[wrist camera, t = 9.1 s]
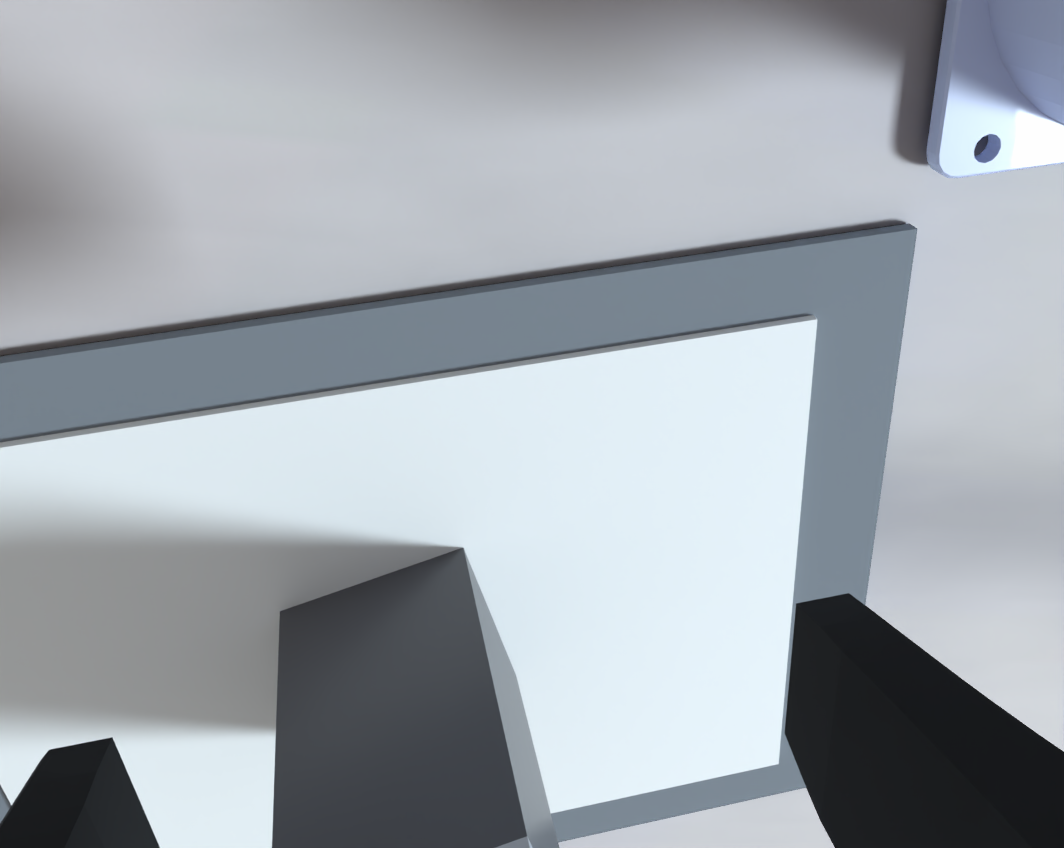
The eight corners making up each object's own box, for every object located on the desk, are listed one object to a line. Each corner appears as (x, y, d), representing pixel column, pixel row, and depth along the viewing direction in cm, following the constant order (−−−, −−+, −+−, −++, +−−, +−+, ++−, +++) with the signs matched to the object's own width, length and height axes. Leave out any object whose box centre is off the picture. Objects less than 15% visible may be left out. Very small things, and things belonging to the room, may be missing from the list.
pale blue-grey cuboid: (463, 547, 20) (555, 967, 13) (516, 675, 23) (622, 1099, 15) (280, 611, 20) (264, 1071, 13) (350, 734, 23) (372, 1190, 15)
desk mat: (909, 223, 19) (922, 232, 19) (836, 771, 28) (844, 785, 27) (-324, 403, 16) (-340, 418, 16) (11, 952, 25) (6, 971, 24)
